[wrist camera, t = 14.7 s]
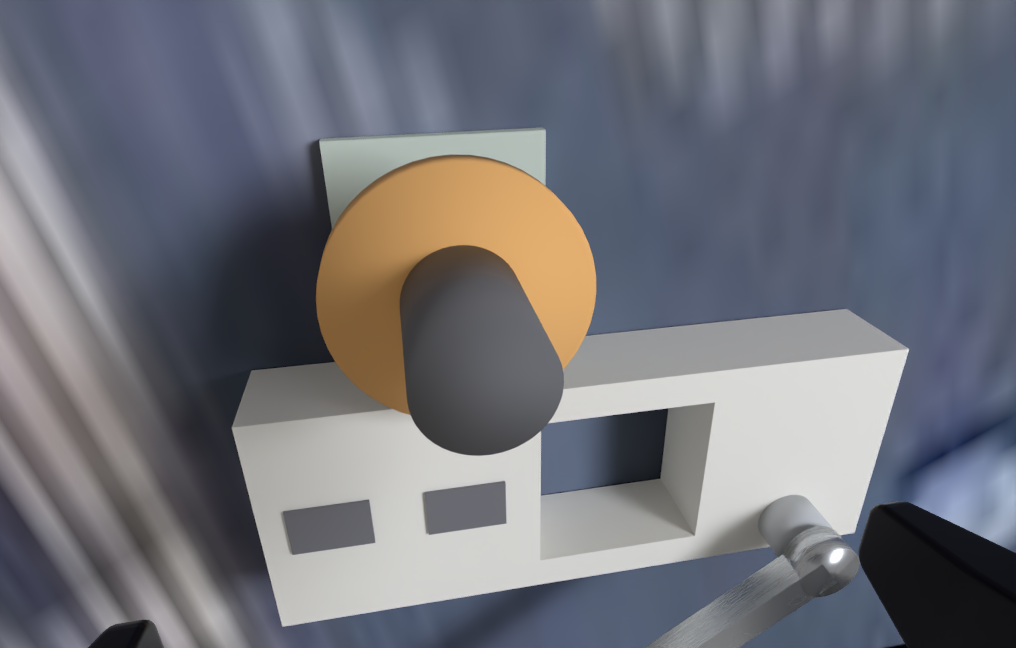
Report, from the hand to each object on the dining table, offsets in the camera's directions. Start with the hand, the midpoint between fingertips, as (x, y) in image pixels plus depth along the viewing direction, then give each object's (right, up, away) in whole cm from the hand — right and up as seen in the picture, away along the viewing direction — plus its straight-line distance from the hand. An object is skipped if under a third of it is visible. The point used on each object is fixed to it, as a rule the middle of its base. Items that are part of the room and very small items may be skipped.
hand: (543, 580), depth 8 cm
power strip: (+3, -1, +15) cm, 15 cm away
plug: (-2, +5, +10) cm, 12 cm away
